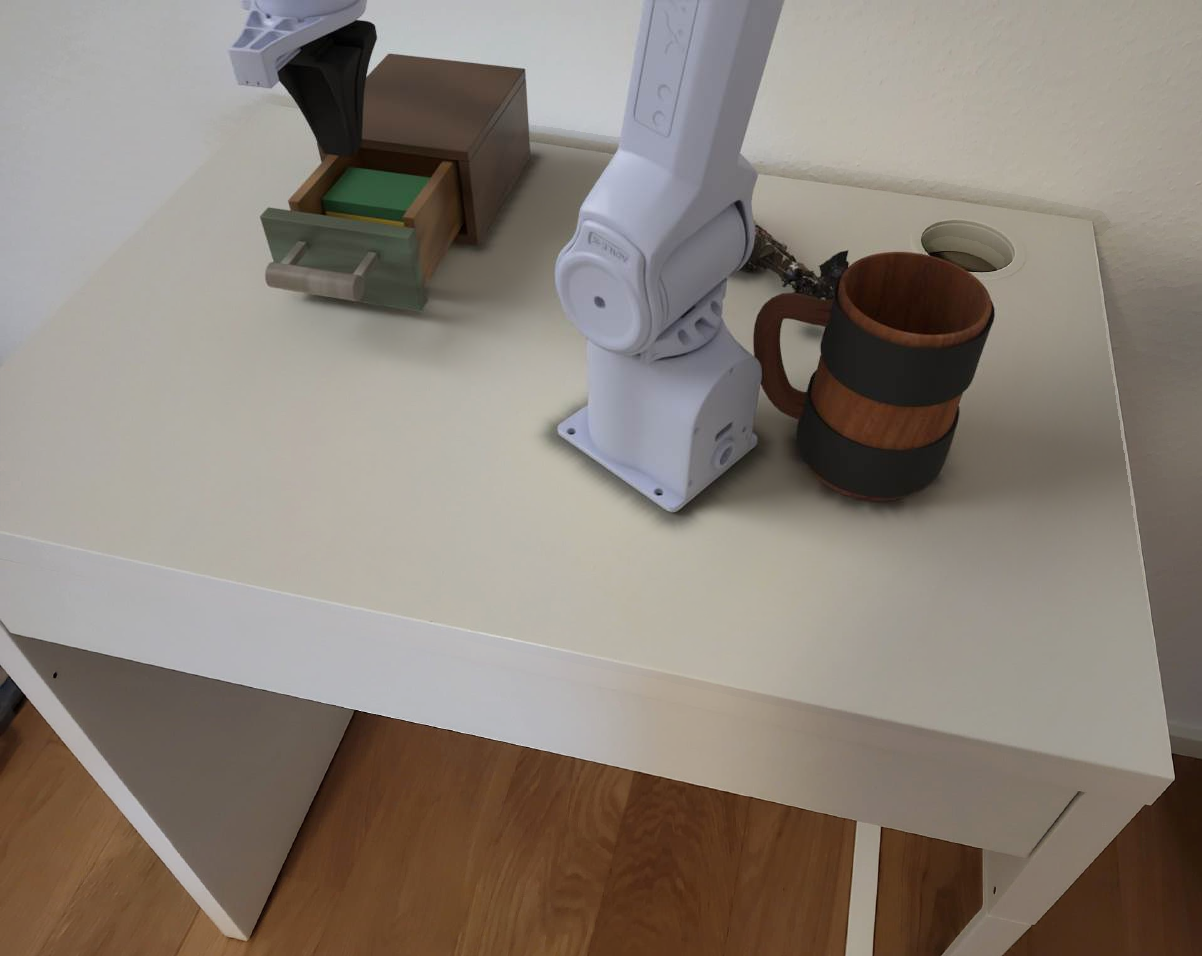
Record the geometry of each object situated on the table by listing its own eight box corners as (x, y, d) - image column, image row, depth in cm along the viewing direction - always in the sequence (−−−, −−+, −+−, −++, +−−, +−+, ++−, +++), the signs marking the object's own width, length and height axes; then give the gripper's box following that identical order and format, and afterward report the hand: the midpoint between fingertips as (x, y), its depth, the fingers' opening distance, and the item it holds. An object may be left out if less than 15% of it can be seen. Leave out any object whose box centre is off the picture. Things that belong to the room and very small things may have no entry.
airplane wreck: (824, 355, 61) (840, 286, 57) (651, 228, 71) (655, 162, 67) (885, 323, 63) (905, 255, 59) (709, 205, 74) (716, 140, 69)
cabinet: (478, 246, 70) (467, 151, 64) (336, 225, 72) (313, 131, 66) (530, 157, 79) (525, 68, 73) (403, 141, 80) (388, 52, 75)
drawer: (397, 351, 60) (381, 277, 56) (251, 327, 62) (225, 253, 57) (481, 214, 71) (474, 143, 67) (356, 197, 73) (340, 126, 68)
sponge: (417, 254, 65) (409, 210, 63) (332, 242, 66) (321, 198, 64) (439, 220, 68) (433, 177, 66) (358, 209, 69) (348, 166, 67)
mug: (752, 381, 59) (778, 221, 51) (945, 421, 57) (1006, 260, 48) (723, 475, 54) (746, 314, 45) (935, 524, 51) (1002, 362, 43)
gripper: (284, -136, 54) (334, 92, 64) (142, -52, 45) (226, 201, 55) (397, -127, 53) (429, 104, 63) (275, -39, 43) (336, 217, 53)
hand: (342, 150), depth 59 cm, fingers closed
